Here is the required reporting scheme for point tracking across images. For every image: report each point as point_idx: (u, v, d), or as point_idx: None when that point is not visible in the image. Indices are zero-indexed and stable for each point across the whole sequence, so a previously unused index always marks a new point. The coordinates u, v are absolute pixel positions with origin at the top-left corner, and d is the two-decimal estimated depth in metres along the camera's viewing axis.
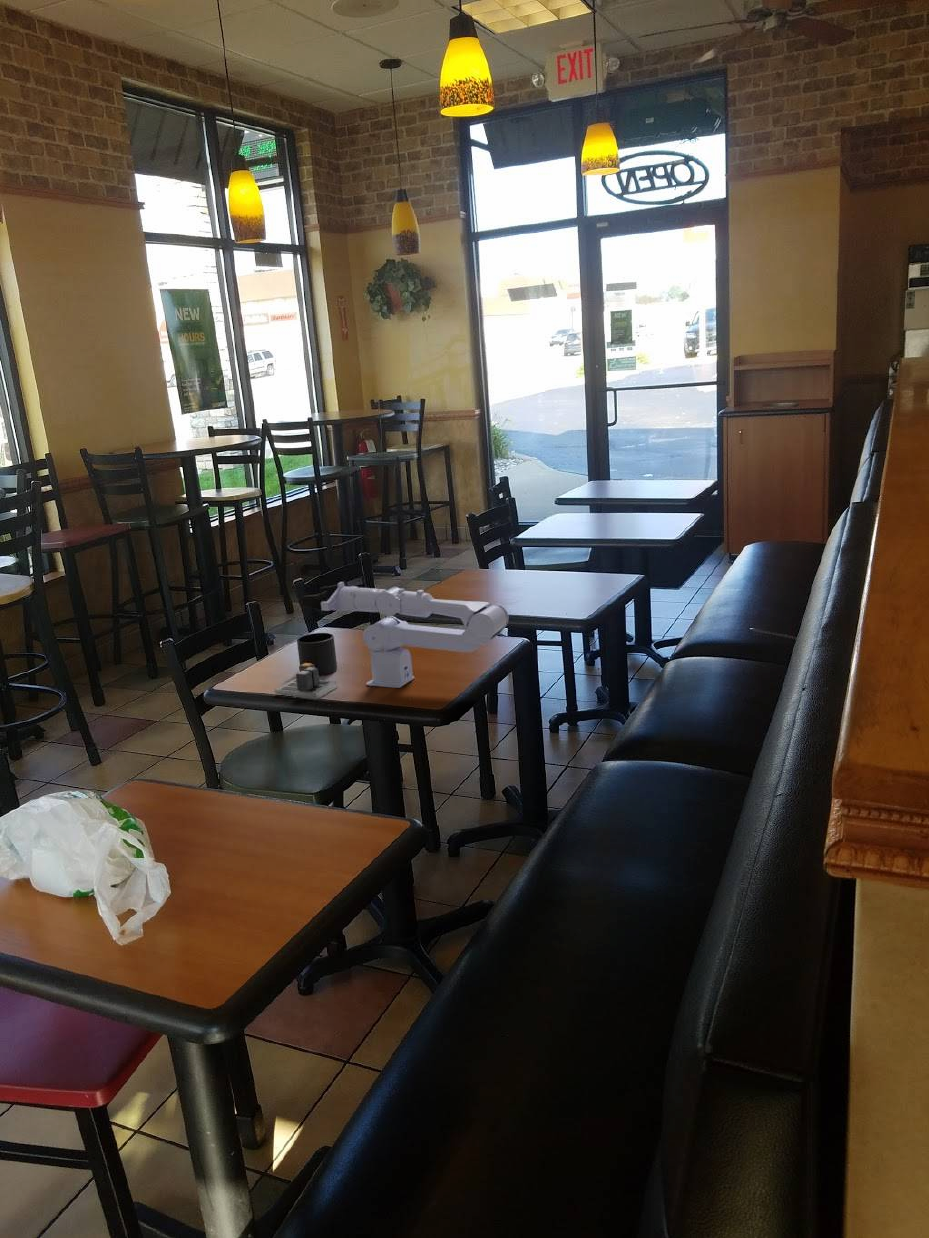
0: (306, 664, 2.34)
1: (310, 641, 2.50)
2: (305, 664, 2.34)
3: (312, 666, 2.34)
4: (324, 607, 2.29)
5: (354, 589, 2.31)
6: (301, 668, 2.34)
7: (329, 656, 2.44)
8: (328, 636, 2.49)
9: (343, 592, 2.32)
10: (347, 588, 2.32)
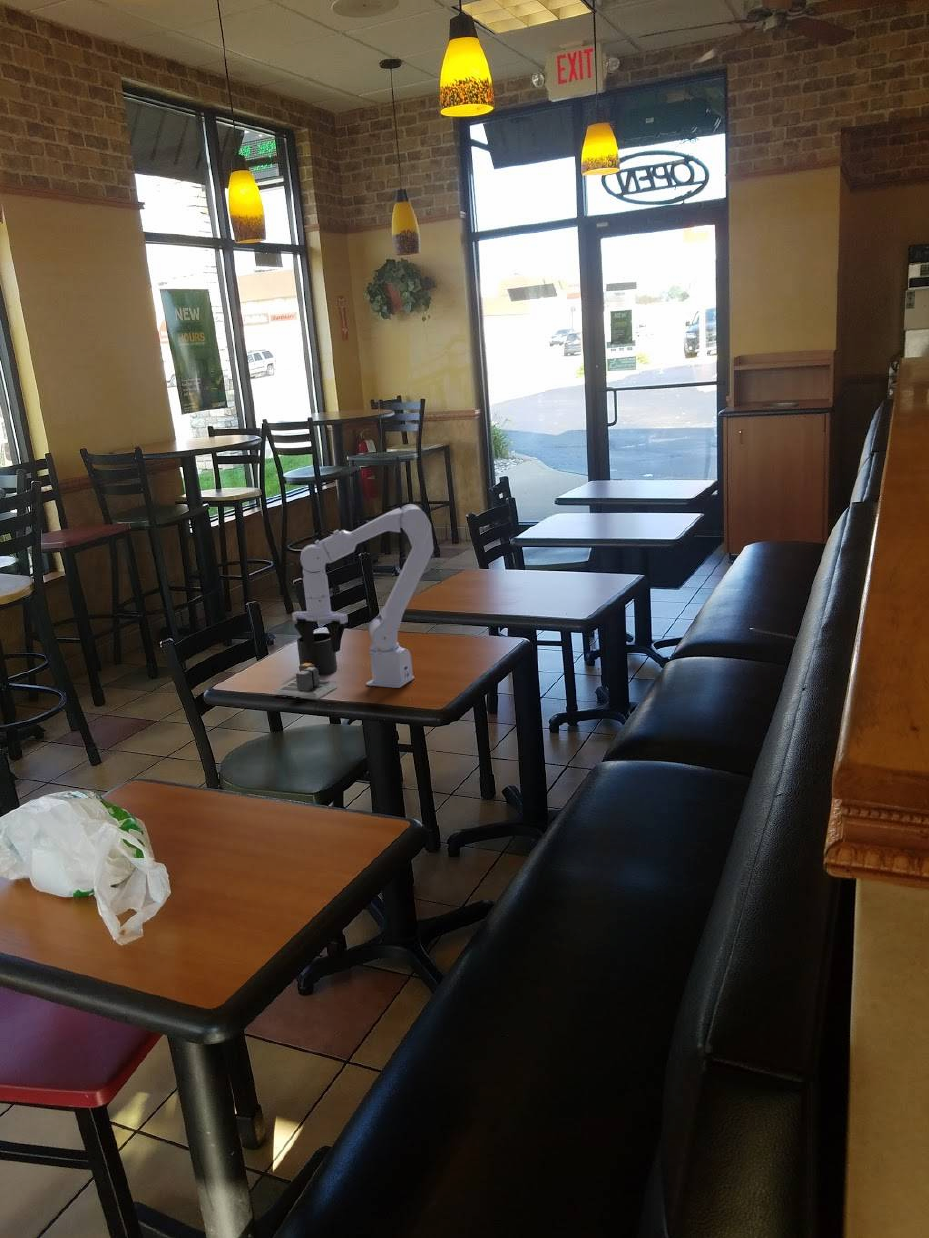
0: (306, 664, 2.34)
1: None
2: (305, 664, 2.34)
3: (312, 666, 2.34)
4: (345, 618, 2.26)
5: (313, 600, 2.25)
6: (301, 668, 2.34)
7: (329, 656, 2.44)
8: (328, 636, 2.49)
9: (319, 611, 2.26)
10: (313, 609, 2.25)
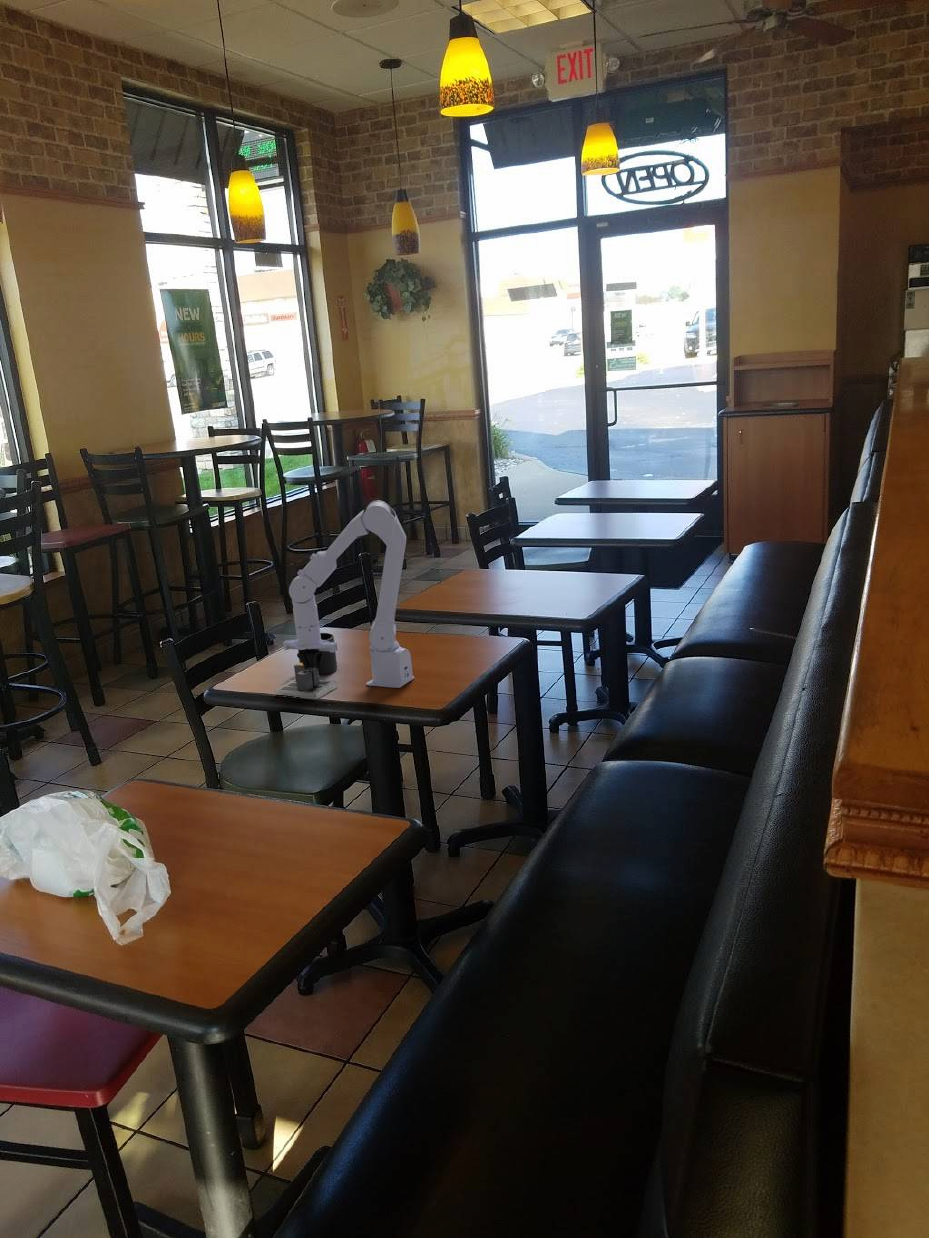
0: (301, 664, 2.35)
1: None
2: (300, 664, 2.35)
3: None
4: (335, 647, 2.30)
5: (303, 630, 2.29)
6: (296, 668, 2.34)
7: (329, 656, 2.44)
8: (328, 636, 2.49)
9: (309, 640, 2.29)
10: (303, 638, 2.29)
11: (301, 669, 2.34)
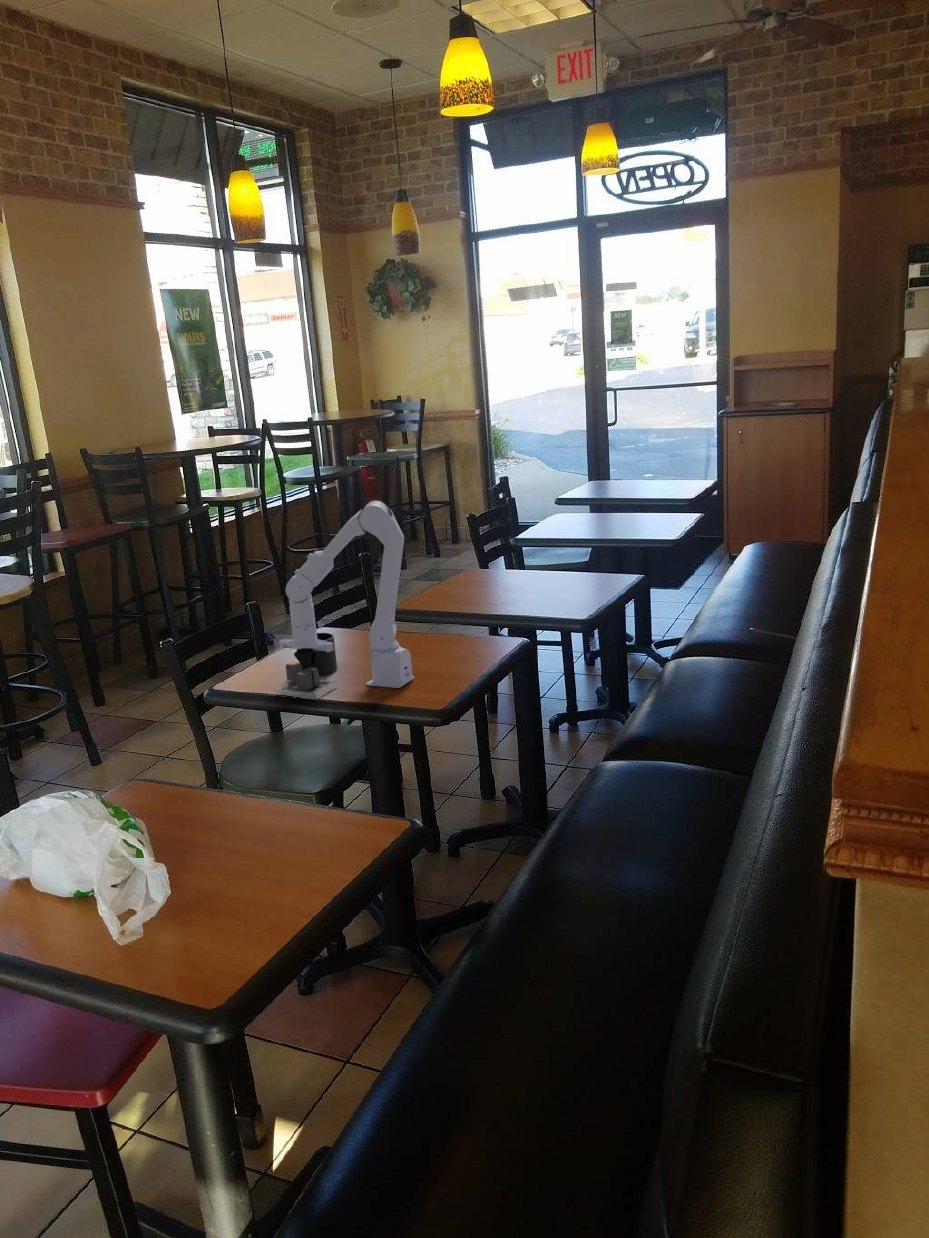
0: (292, 663, 2.36)
1: None
2: (291, 663, 2.36)
3: (298, 665, 2.36)
4: (331, 647, 2.30)
5: (300, 629, 2.29)
6: (287, 667, 2.36)
7: (329, 656, 2.44)
8: (328, 636, 2.49)
9: (305, 639, 2.30)
10: (300, 638, 2.29)
11: (292, 668, 2.35)
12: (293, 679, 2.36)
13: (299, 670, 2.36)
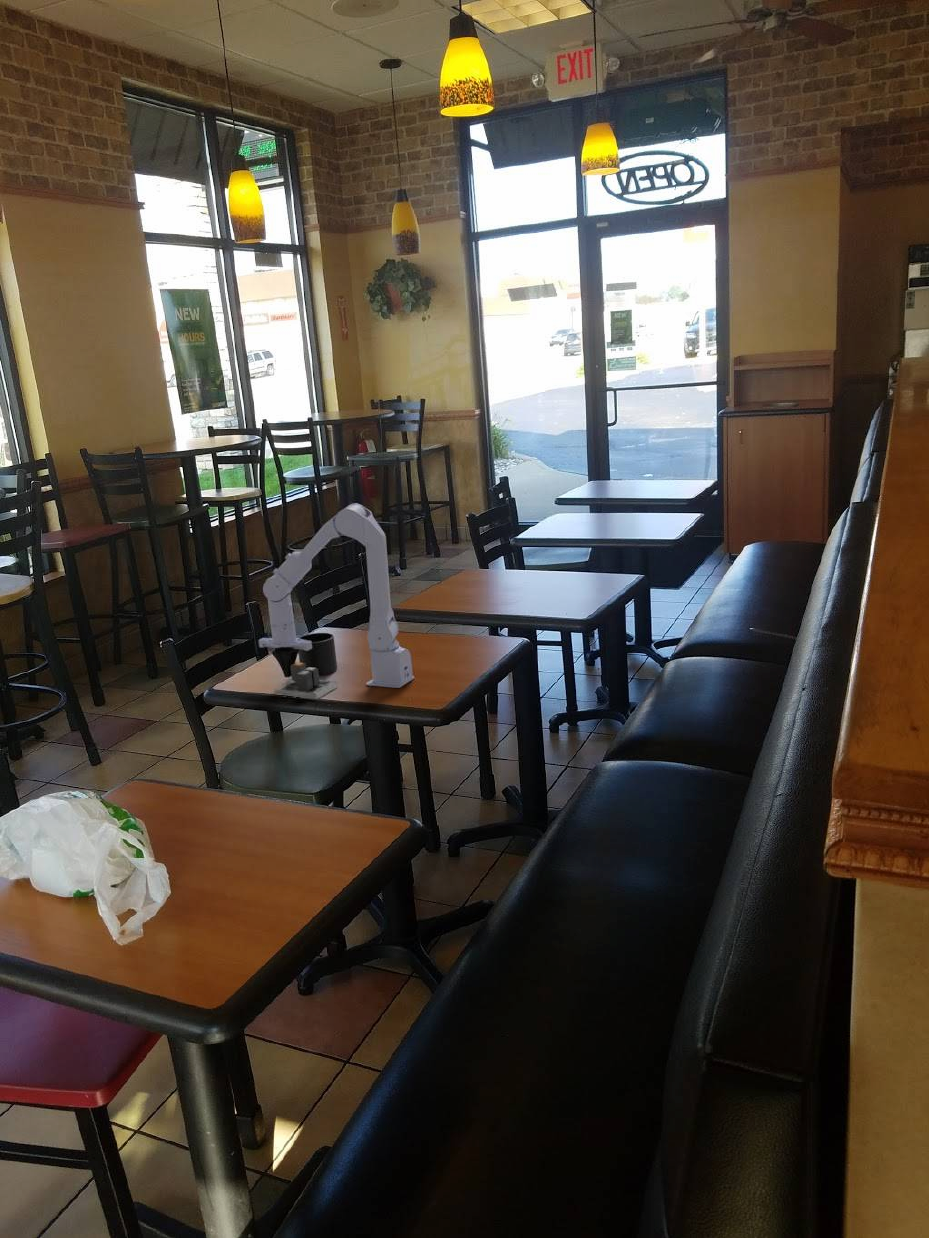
0: (297, 663, 2.35)
1: None
2: (296, 663, 2.35)
3: (303, 665, 2.35)
4: (310, 645, 2.33)
5: (278, 628, 2.32)
6: (292, 668, 2.35)
7: (329, 656, 2.44)
8: (328, 636, 2.49)
9: (284, 638, 2.32)
10: (278, 636, 2.32)
11: (297, 669, 2.34)
12: None
13: None
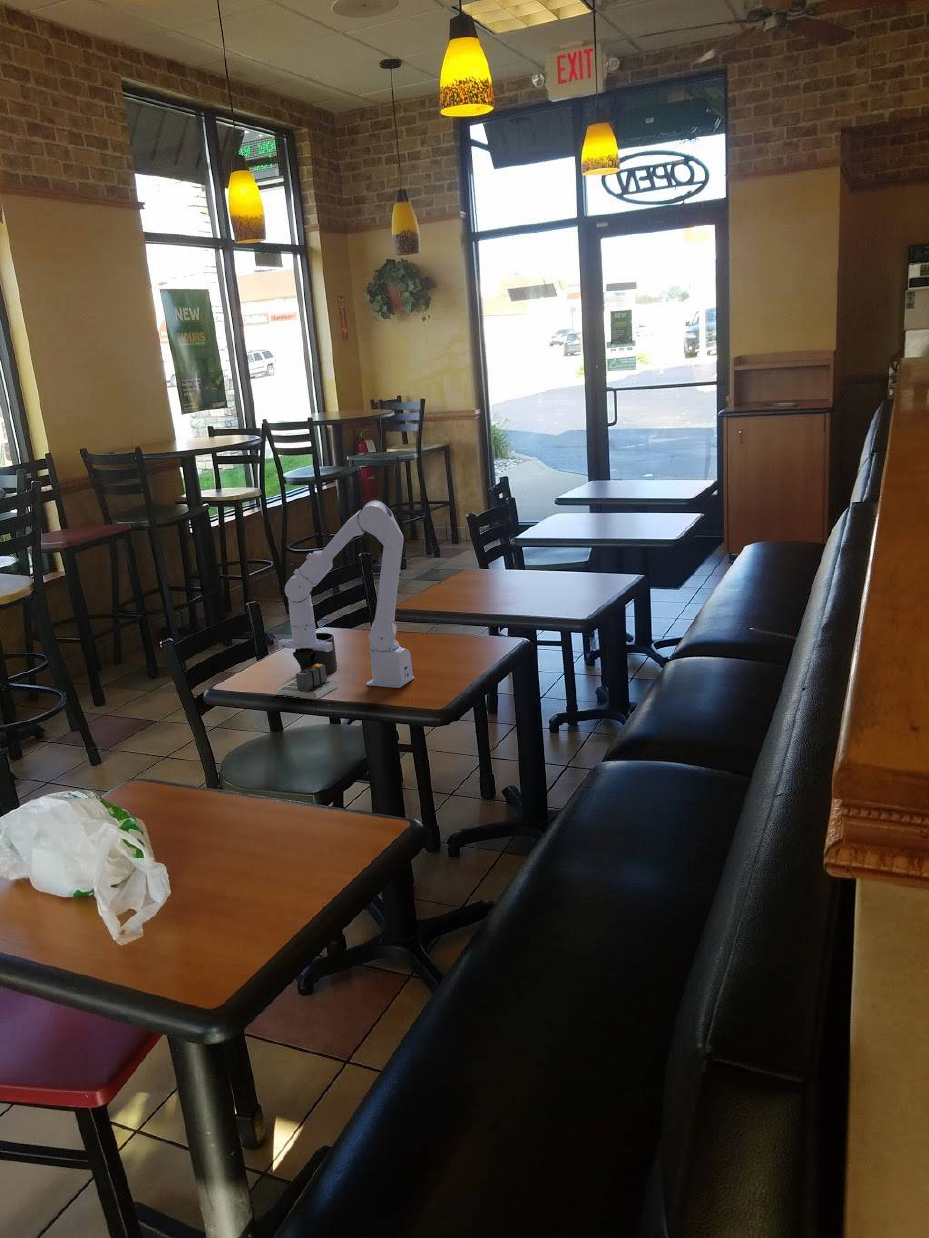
0: (317, 665, 2.33)
1: None
2: (316, 665, 2.33)
3: (323, 667, 2.33)
4: (330, 647, 2.30)
5: (299, 629, 2.29)
6: None
7: (329, 656, 2.44)
8: (328, 636, 2.49)
9: (305, 639, 2.30)
10: (299, 637, 2.30)
11: None
12: None
13: (323, 672, 2.33)
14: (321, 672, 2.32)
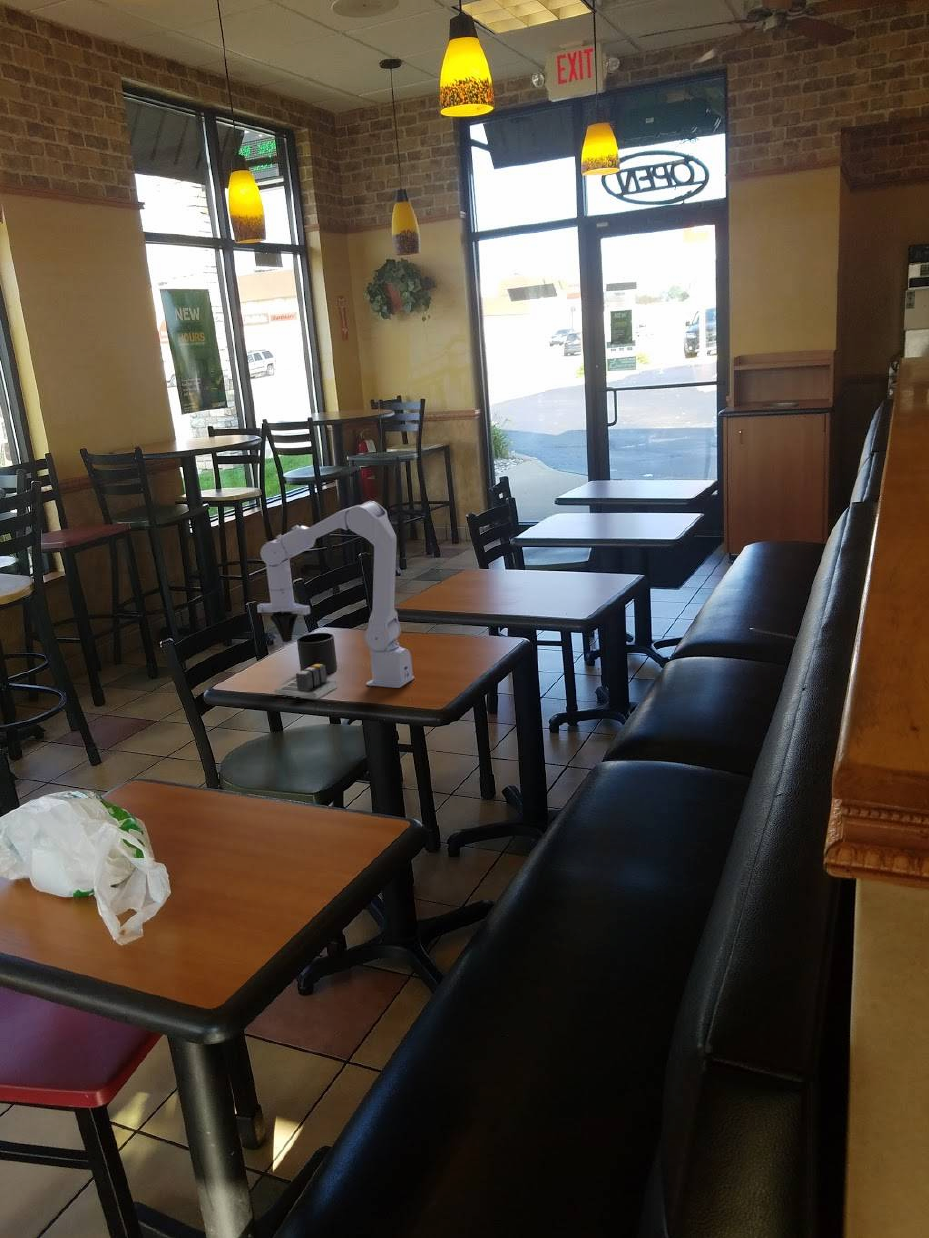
0: (317, 665, 2.33)
1: (310, 641, 2.50)
2: (316, 665, 2.33)
3: (323, 667, 2.33)
4: (308, 610, 2.35)
5: (277, 592, 2.34)
6: None
7: (329, 656, 2.44)
8: (328, 636, 2.49)
9: (283, 602, 2.34)
10: (277, 601, 2.34)
11: None
12: None
13: (324, 672, 2.33)
14: (321, 672, 2.32)
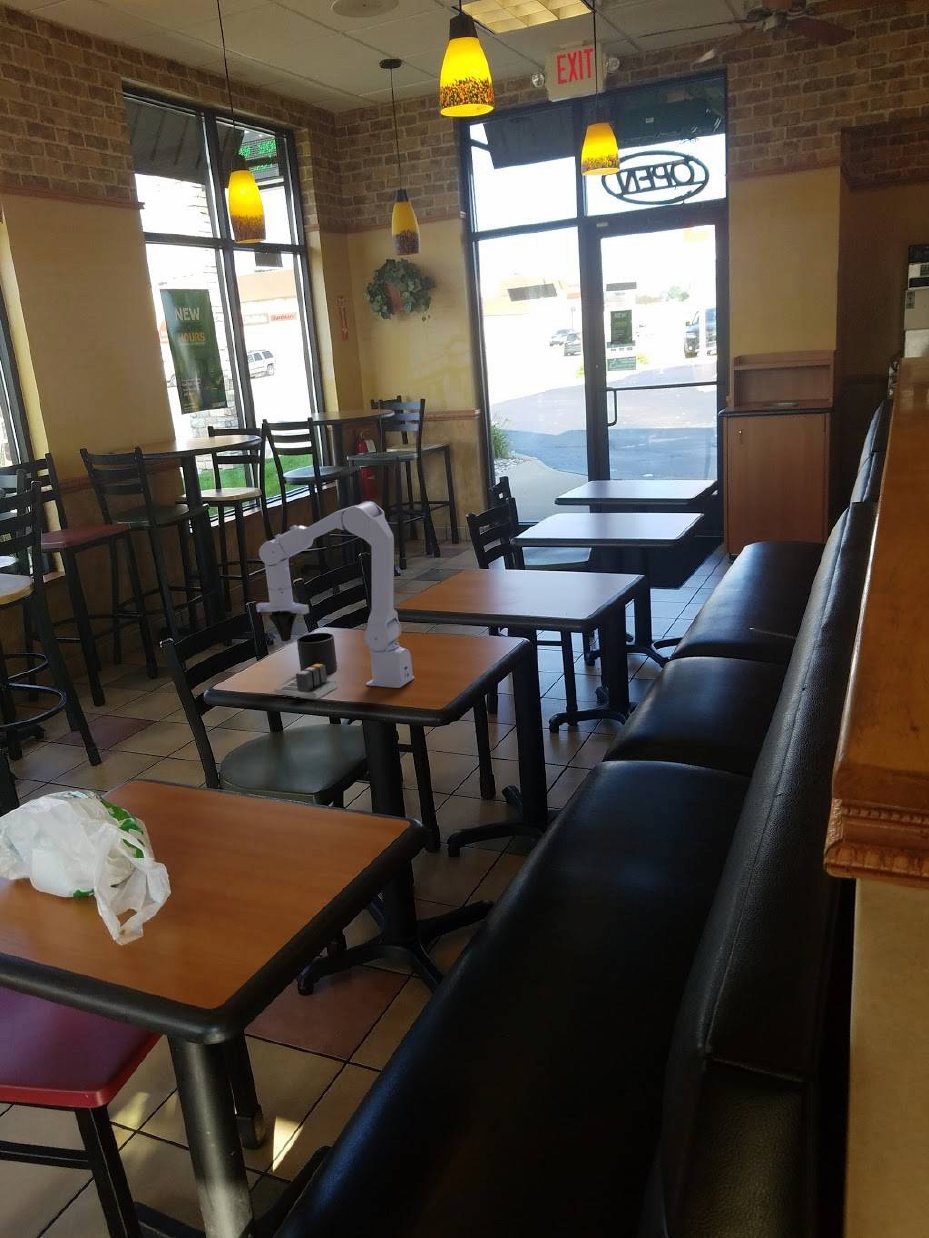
0: (317, 665, 2.33)
1: (310, 641, 2.50)
2: (316, 665, 2.33)
3: (323, 667, 2.33)
4: (307, 609, 2.36)
5: (276, 592, 2.35)
6: None
7: (329, 656, 2.44)
8: (328, 636, 2.49)
9: (281, 602, 2.35)
10: (276, 600, 2.35)
11: None
12: None
13: (324, 672, 2.33)
14: (321, 672, 2.32)
